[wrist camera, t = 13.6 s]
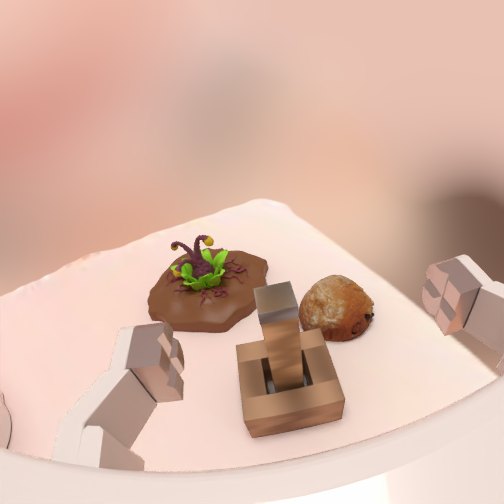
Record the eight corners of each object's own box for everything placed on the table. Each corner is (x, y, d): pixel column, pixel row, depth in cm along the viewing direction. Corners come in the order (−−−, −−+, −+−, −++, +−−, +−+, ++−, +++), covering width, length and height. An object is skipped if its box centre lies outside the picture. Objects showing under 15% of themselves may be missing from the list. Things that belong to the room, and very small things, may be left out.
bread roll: (328, 306, 49) (306, 268, 46) (385, 299, 42) (366, 255, 39) (303, 351, 42) (277, 311, 40) (367, 350, 35) (345, 304, 33)
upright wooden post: (278, 407, 32) (258, 314, 23) (274, 386, 34) (253, 288, 25) (305, 401, 32) (298, 306, 23) (299, 380, 34) (289, 281, 25)
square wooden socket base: (252, 437, 29) (243, 420, 26) (243, 368, 37) (235, 345, 34) (341, 418, 29) (345, 399, 26) (320, 352, 37) (319, 327, 34)
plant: (242, 346, 41) (224, 286, 35) (136, 322, 48) (108, 270, 42) (280, 261, 56) (273, 205, 50) (189, 254, 63) (174, 206, 57)
